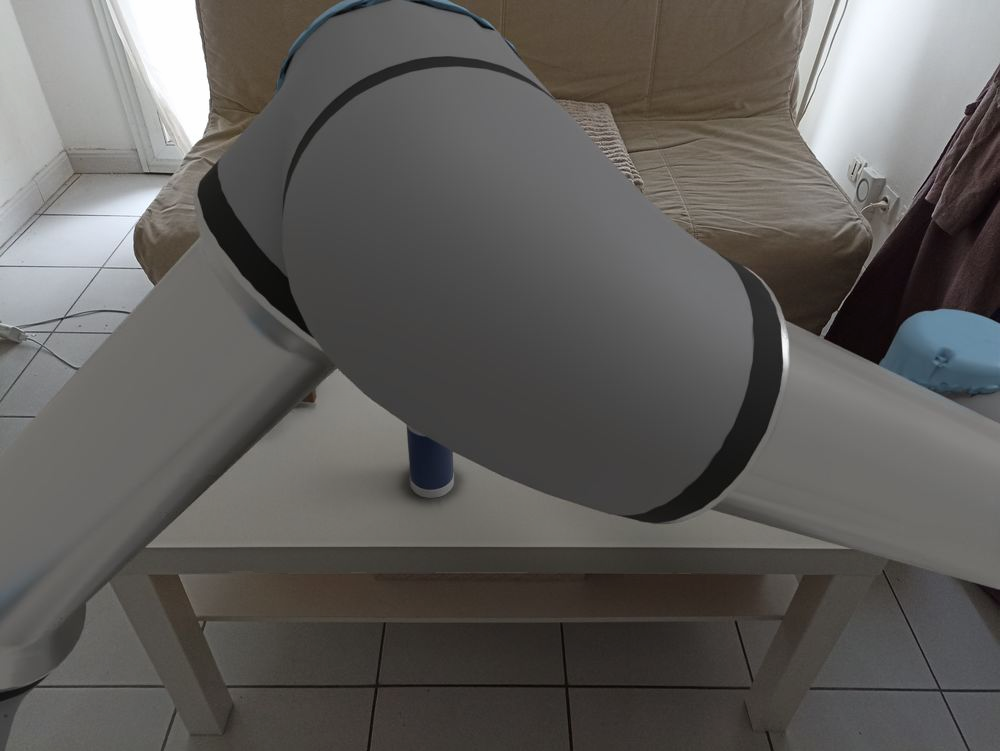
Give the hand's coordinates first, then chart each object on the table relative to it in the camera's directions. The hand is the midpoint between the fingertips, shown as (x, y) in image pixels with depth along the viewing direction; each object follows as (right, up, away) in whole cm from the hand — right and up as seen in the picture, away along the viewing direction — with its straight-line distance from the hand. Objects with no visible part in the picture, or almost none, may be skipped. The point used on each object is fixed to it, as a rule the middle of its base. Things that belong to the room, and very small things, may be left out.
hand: (518, 380), depth 68 cm
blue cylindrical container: (-9, -11, +13) cm, 19 cm away
